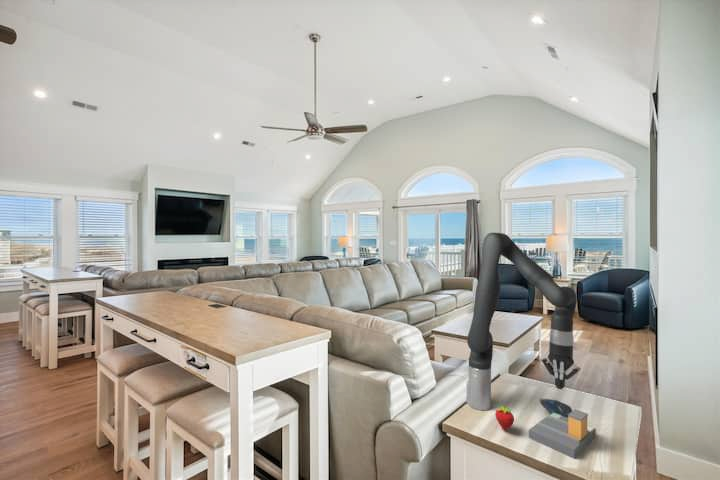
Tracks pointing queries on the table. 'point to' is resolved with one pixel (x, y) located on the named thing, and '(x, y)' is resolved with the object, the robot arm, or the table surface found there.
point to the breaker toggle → (577, 424)
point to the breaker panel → (560, 435)
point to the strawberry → (504, 418)
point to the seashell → (556, 407)
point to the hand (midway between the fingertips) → (559, 388)
